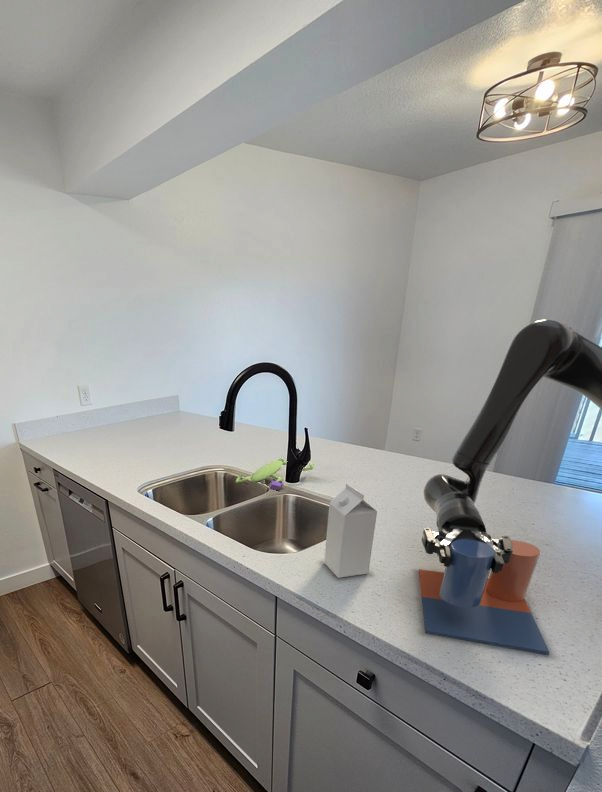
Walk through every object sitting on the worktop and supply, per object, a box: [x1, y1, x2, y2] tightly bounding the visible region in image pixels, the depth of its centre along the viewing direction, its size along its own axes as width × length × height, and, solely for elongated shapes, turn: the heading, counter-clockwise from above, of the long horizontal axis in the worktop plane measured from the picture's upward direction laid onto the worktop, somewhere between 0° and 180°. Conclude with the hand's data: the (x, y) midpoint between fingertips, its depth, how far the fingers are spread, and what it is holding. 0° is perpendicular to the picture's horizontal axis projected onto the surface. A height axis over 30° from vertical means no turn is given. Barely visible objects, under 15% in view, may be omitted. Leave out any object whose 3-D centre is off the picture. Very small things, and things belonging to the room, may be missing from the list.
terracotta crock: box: [486, 539, 541, 602], centre depth 83 cm, size 6×6×10 cm
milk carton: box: [323, 483, 378, 579], centre depth 93 cm, size 7×7×19 cm
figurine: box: [235, 458, 315, 491], centre depth 152 cm, size 18×27×6 cm
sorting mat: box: [418, 568, 550, 655], centre depth 82 cm, size 18×22×1 cm
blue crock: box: [439, 539, 495, 608], centre depth 75 cm, size 6×6×10 cm
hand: (472, 565), depth 71 cm, fingers closed on blue crock, 6 cm apart
